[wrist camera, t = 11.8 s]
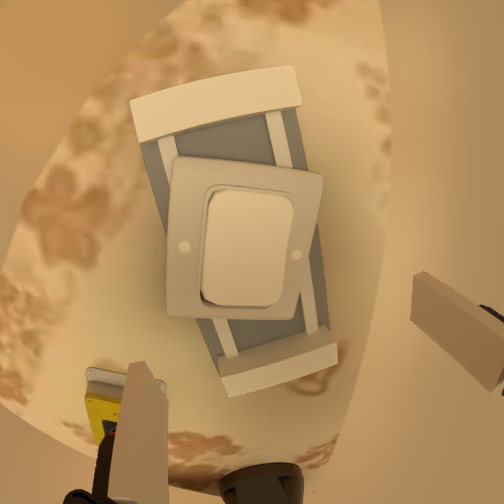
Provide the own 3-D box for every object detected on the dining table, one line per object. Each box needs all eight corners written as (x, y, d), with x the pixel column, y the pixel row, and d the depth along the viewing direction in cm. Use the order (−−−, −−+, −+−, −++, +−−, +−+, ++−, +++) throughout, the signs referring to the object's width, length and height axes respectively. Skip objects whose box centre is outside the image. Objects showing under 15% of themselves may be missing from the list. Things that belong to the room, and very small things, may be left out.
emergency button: (95, 458, 26) (75, 389, 22) (99, 434, 30) (86, 362, 26) (162, 470, 29) (165, 407, 24) (162, 445, 33) (167, 377, 28)
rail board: (328, 343, 30) (342, 365, 26) (221, 376, 29) (225, 402, 25) (282, 71, 20) (298, 58, 16) (132, 105, 19) (120, 96, 15)
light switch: (163, 338, 20) (168, 159, 16) (167, 307, 24) (174, 154, 19) (300, 340, 23) (341, 181, 18) (287, 312, 26) (317, 172, 22)
